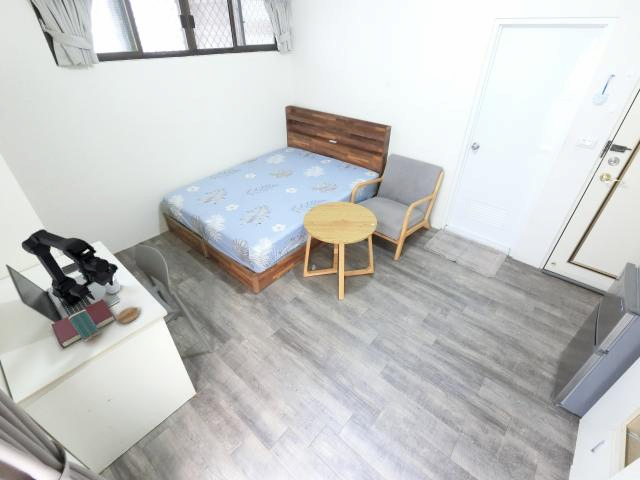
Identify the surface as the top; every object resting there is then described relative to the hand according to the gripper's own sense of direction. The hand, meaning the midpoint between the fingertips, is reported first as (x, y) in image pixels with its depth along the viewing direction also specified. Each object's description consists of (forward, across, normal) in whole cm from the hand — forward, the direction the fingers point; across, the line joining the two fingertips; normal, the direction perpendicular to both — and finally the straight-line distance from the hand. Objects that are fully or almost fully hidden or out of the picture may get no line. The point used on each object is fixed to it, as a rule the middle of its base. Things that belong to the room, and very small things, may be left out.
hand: (103, 292), depth 136 cm
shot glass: (+15, +12, +14) cm, 24 cm away
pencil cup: (+15, -13, +1) cm, 19 cm away
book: (+15, -9, +9) cm, 19 cm away
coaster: (+15, +1, -6) cm, 16 cm away
